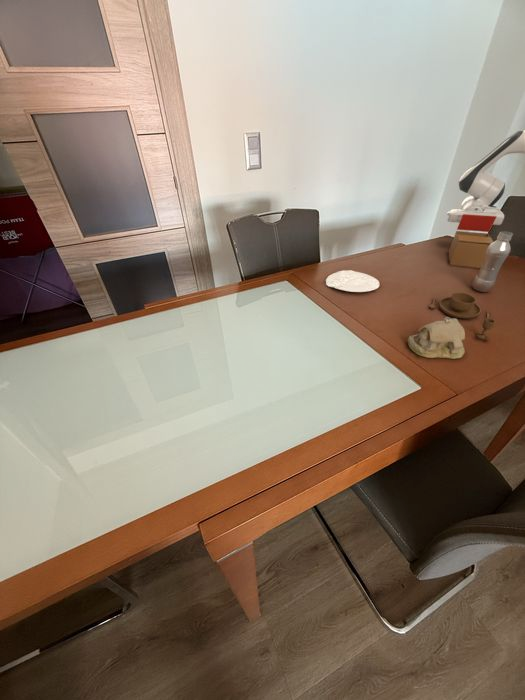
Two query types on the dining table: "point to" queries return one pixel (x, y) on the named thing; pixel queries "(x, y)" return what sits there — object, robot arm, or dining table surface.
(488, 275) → the plastic bottle
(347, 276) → the plaque
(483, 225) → the red rectangular panel
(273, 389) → the dining table surface
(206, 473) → the dining table surface
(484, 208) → the robot arm
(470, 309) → the place setting
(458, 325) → the ceramic model
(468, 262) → the carton
